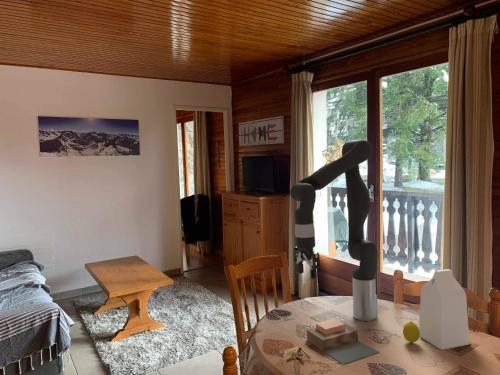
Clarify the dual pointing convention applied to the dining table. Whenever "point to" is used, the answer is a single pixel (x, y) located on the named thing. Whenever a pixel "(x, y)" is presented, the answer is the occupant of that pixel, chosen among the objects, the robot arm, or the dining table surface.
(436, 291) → the milk
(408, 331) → the lemon
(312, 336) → the deck
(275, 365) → the dining table surface
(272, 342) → the dining table surface
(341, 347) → the mat
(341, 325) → the pink sponge
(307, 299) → the dining table surface
